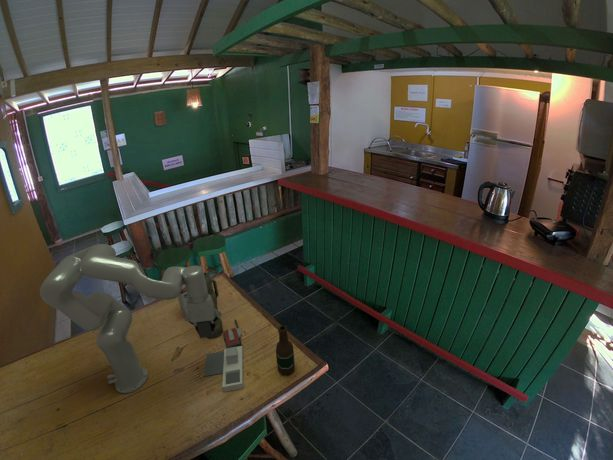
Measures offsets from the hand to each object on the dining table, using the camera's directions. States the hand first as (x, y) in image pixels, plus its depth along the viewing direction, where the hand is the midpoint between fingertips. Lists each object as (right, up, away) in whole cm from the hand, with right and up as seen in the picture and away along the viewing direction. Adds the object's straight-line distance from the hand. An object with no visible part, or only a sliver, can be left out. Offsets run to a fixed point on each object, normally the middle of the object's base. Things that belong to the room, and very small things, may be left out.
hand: (206, 329), depth 131 cm
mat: (+1, -19, +10) cm, 21 cm away
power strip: (+10, -20, +7) cm, 23 cm away
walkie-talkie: (+6, -11, +25) cm, 28 cm away
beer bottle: (+33, -19, +6) cm, 39 cm away
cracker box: (-19, -3, +42) cm, 46 cm away
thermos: (-5, -10, +27) cm, 29 cm away
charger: (0, -1, +1) cm, 2 cm away
